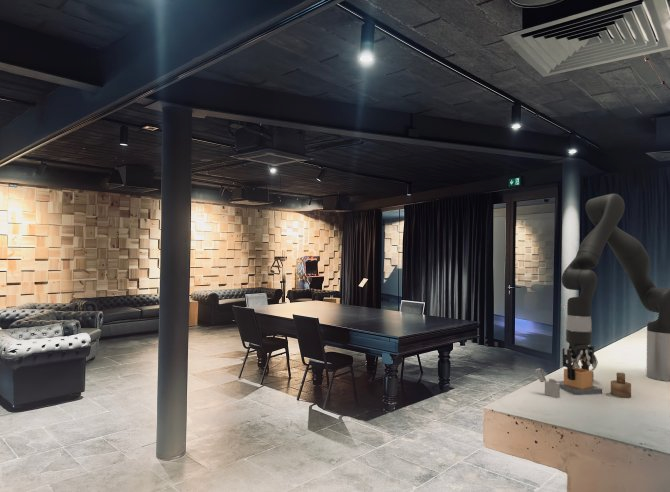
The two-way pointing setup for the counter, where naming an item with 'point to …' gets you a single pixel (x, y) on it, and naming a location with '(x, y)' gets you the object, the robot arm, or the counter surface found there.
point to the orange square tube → (580, 378)
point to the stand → (621, 387)
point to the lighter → (549, 385)
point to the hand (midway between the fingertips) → (578, 378)
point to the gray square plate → (580, 391)
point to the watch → (592, 364)
